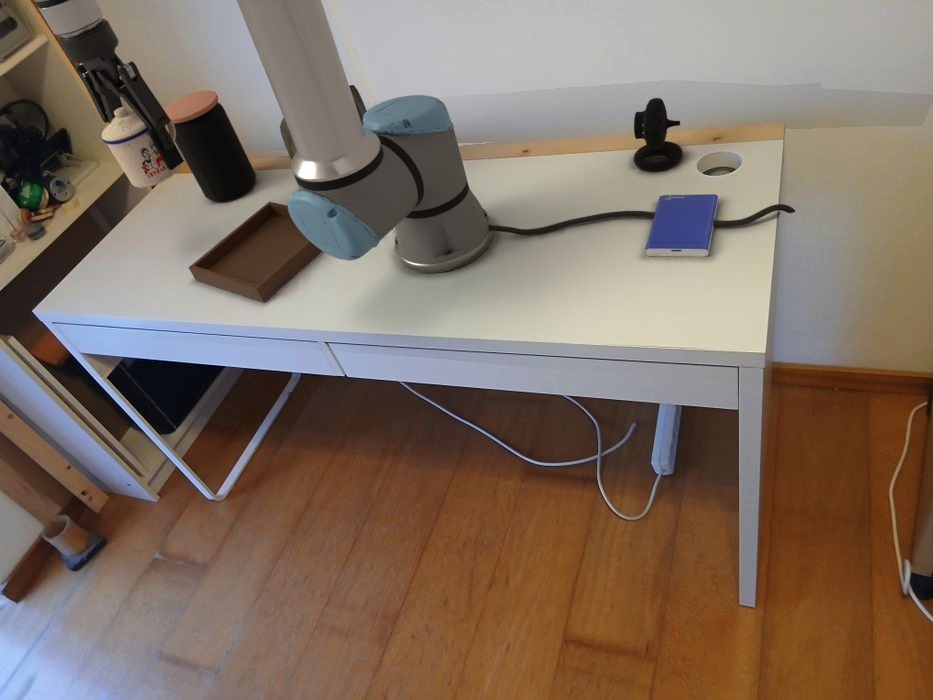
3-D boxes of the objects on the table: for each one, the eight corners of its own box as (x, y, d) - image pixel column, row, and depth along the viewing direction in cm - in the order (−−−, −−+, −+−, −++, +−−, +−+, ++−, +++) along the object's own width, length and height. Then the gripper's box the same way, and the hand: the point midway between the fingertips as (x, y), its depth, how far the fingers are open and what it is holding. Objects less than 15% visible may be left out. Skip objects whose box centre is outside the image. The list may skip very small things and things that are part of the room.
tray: (344, 230, 128) (338, 216, 126) (264, 303, 118) (256, 289, 116) (275, 214, 138) (269, 201, 136) (195, 280, 128) (187, 267, 126)
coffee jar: (267, 172, 151) (227, 87, 139) (242, 203, 144) (197, 116, 132) (223, 175, 155) (180, 92, 143) (196, 205, 148) (149, 121, 136)
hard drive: (659, 194, 111) (645, 247, 103) (717, 193, 108) (708, 247, 100) (659, 203, 112) (646, 256, 104) (718, 202, 109) (708, 256, 101)
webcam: (638, 147, 125) (633, 90, 118) (685, 145, 122) (682, 86, 115) (630, 173, 120) (623, 115, 113) (678, 172, 117) (675, 112, 110)
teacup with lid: (157, 191, 121) (117, 124, 114) (120, 188, 126) (79, 124, 118) (205, 150, 128) (170, 85, 121) (168, 149, 133) (133, 86, 125)
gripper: (142, 15, 107) (216, 156, 122) (65, 16, 119) (141, 144, 134) (99, 39, 103) (181, 182, 118) (24, 37, 115) (107, 167, 130)
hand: (160, 162), depth 126 cm, fingers closed on teacup with lid, 9 cm apart
